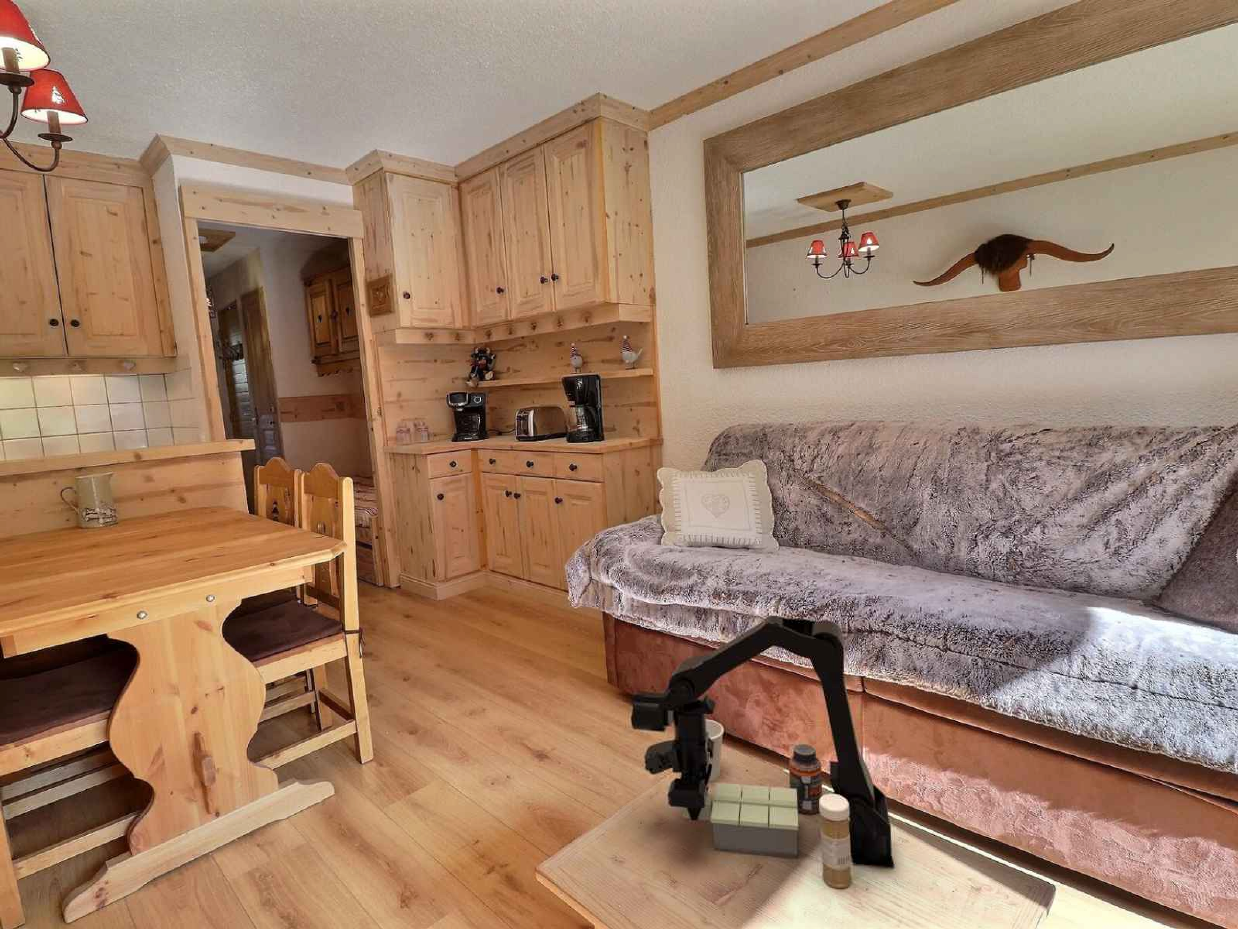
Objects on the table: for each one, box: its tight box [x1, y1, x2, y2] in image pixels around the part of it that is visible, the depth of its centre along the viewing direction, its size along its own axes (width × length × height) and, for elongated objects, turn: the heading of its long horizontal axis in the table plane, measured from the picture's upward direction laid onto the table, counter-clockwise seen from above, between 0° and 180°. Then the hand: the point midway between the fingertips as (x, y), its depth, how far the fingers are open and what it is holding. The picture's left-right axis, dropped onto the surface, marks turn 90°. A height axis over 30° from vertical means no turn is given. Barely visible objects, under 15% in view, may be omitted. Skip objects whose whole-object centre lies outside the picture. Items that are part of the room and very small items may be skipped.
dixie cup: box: [706, 718, 724, 783], centre depth 137 cm, size 8×8×10 cm
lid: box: [682, 782, 799, 831], centre depth 118 cm, size 20×11×4 cm, turn 76°
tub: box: [712, 792, 799, 859], centre depth 118 cm, size 14×10×5 cm
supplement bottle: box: [788, 743, 823, 815], centre depth 125 cm, size 6×6×11 cm
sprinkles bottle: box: [818, 793, 853, 889], centre depth 105 cm, size 5×5×14 cm
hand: (695, 814), depth 120 cm, fingers closed on lid, 3 cm apart
